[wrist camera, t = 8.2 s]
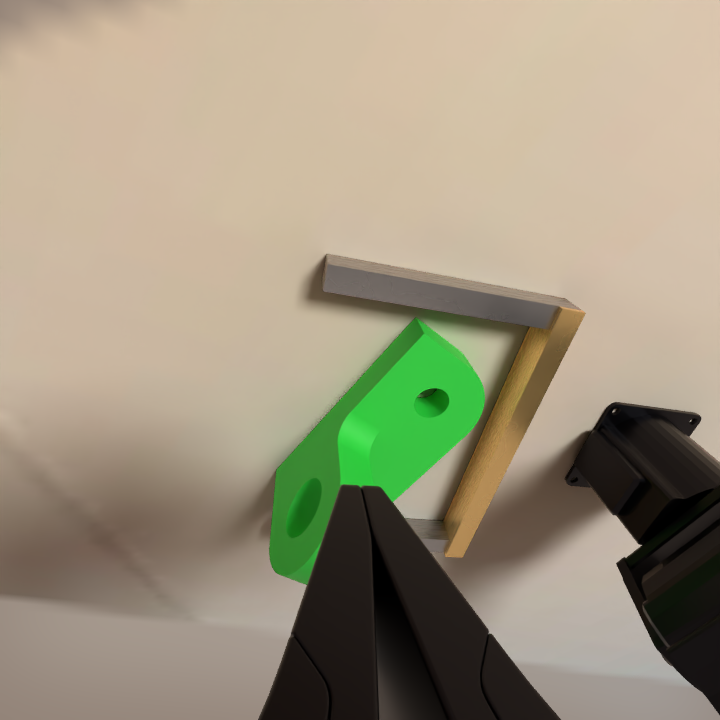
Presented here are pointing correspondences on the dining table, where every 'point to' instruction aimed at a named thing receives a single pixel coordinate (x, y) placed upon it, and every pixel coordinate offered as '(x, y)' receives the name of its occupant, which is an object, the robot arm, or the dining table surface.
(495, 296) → the u-shaped frame
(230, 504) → the dining table surface
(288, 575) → the mechanical part
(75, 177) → the dining table surface
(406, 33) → the dining table surface
